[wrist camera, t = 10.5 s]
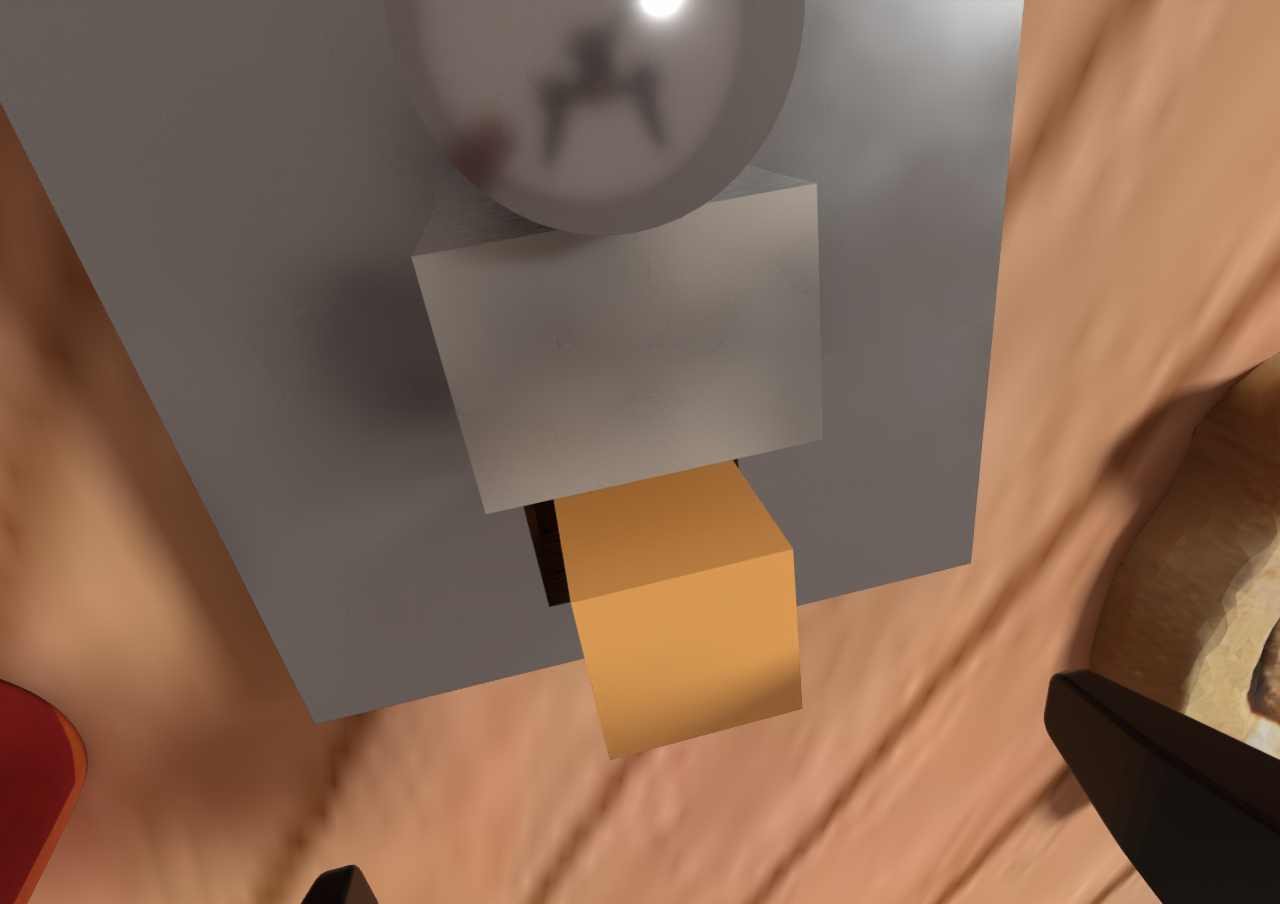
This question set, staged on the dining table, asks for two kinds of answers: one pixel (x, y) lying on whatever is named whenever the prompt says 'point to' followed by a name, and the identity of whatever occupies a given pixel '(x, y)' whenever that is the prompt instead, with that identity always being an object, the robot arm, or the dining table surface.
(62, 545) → the dining table surface
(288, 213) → the grey slotted base plate
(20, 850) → the coffee cup
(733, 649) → the orange rectangular block
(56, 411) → the dining table surface
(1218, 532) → the ashtray
